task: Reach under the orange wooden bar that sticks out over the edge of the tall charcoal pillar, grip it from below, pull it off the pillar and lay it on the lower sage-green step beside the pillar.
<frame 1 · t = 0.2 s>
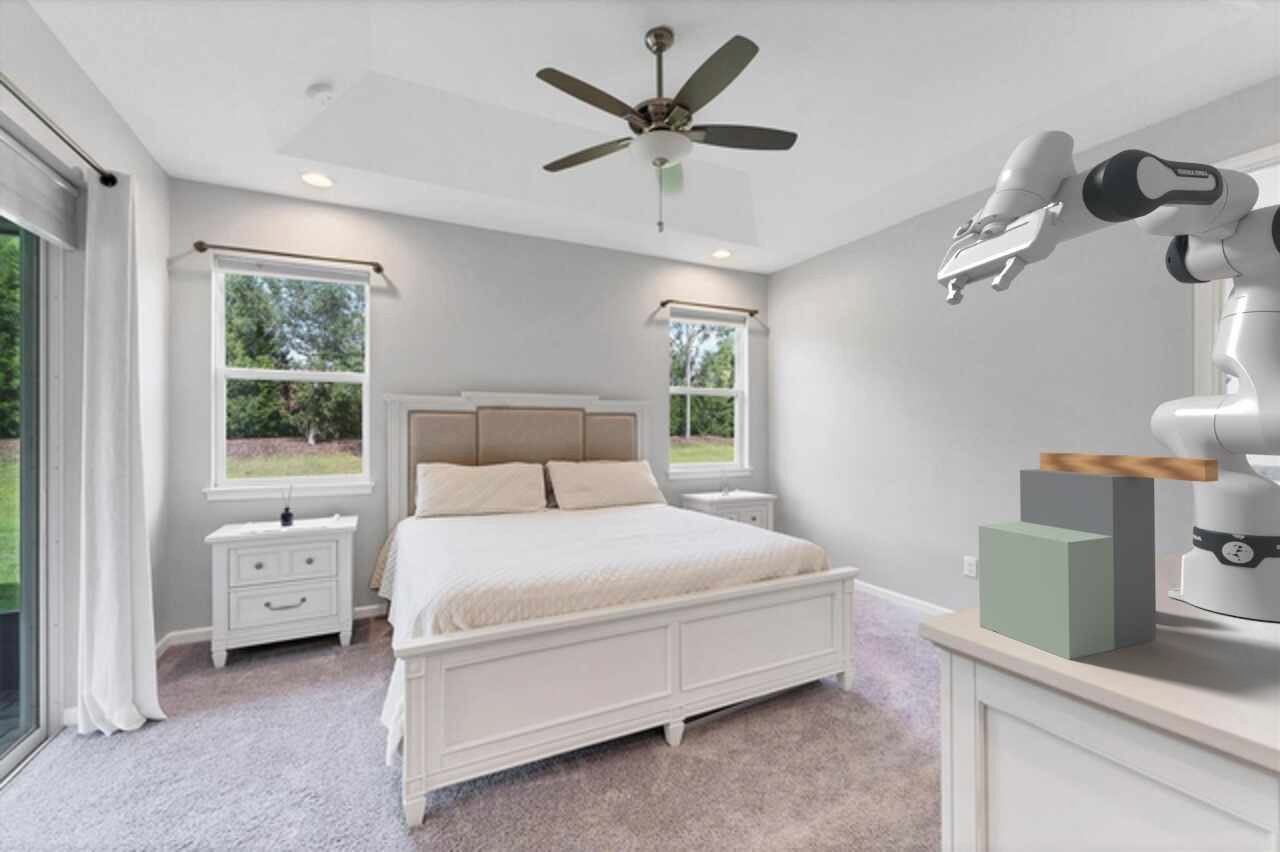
hand: (974, 296, 87), 55 cm above the table, tool tilted 30°, fingers open, 8 cm apart
stepped stand: (1064, 632, 88), on the table
orange bar: (1118, 474, 85), point 26 cm above the table, touching stepped stand
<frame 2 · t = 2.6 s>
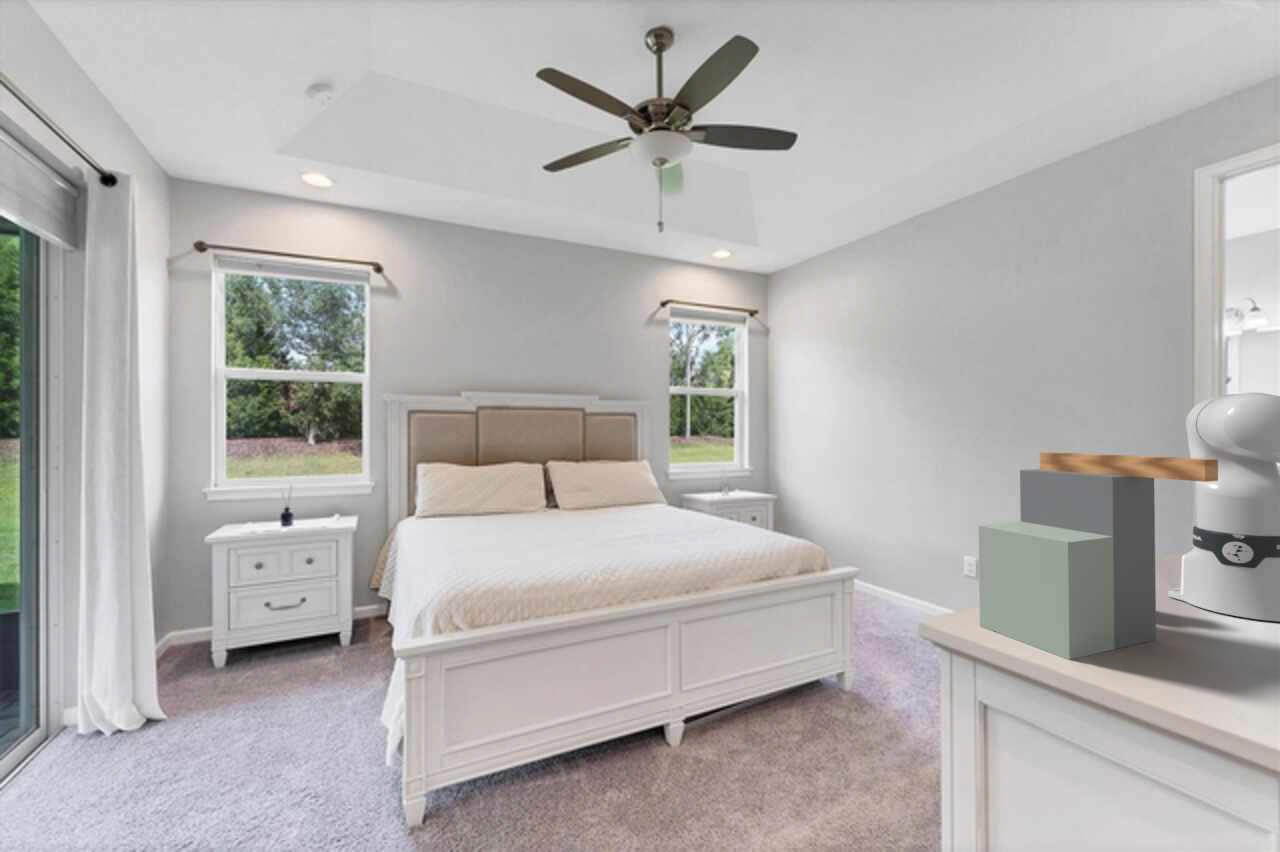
orange bar: (1118, 474, 85), point 26 cm above the table
everything else where it was.
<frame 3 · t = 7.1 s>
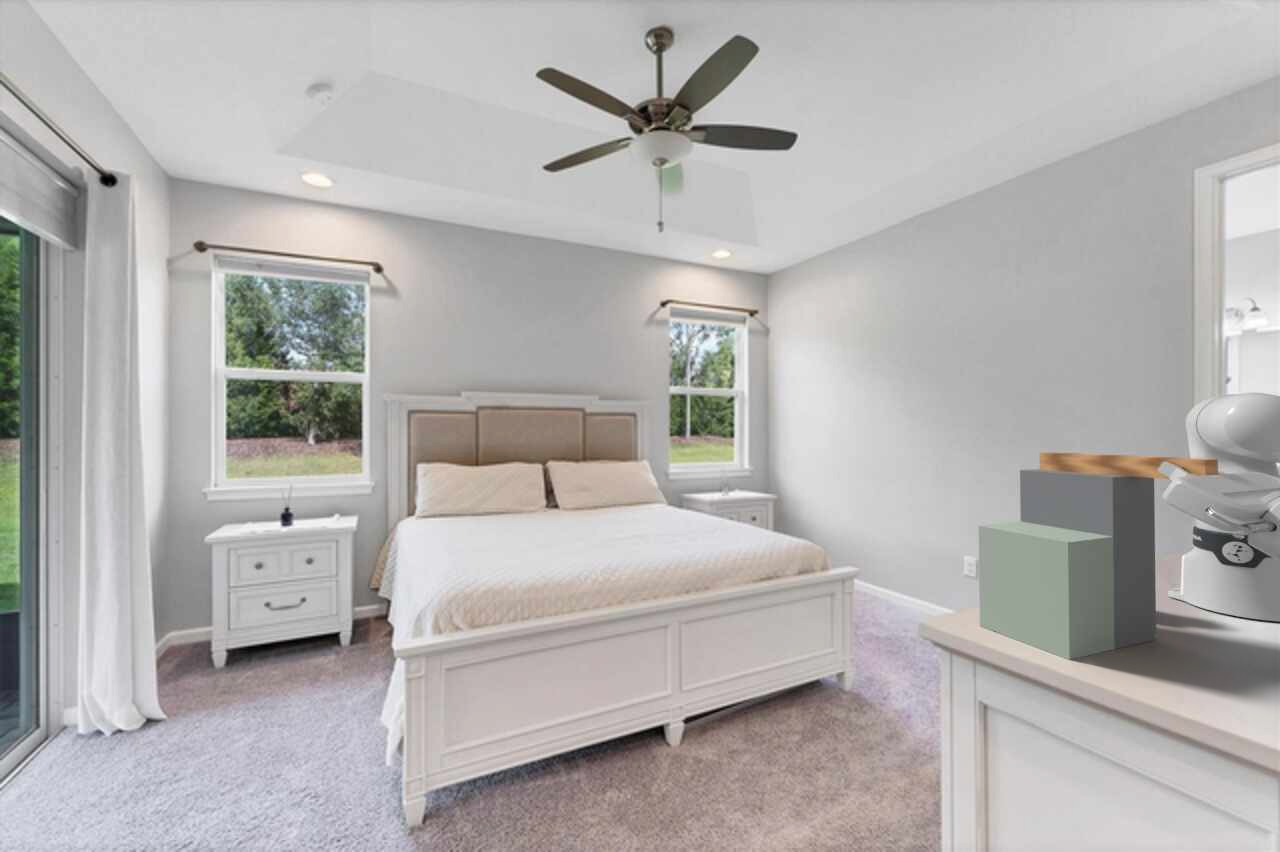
hand: (1172, 464, 78), 28 cm above the table, tool pointing upward, fingers closed on orange bar, 3 cm apart
orange bar: (1118, 474, 85), point 26 cm above the table, touching gripper, stepped stand
everything else where it was.
when the fingers open (21 cm above the table, at t = 18.6 s): orange bar drops 2 cm, resting on stepped stand.
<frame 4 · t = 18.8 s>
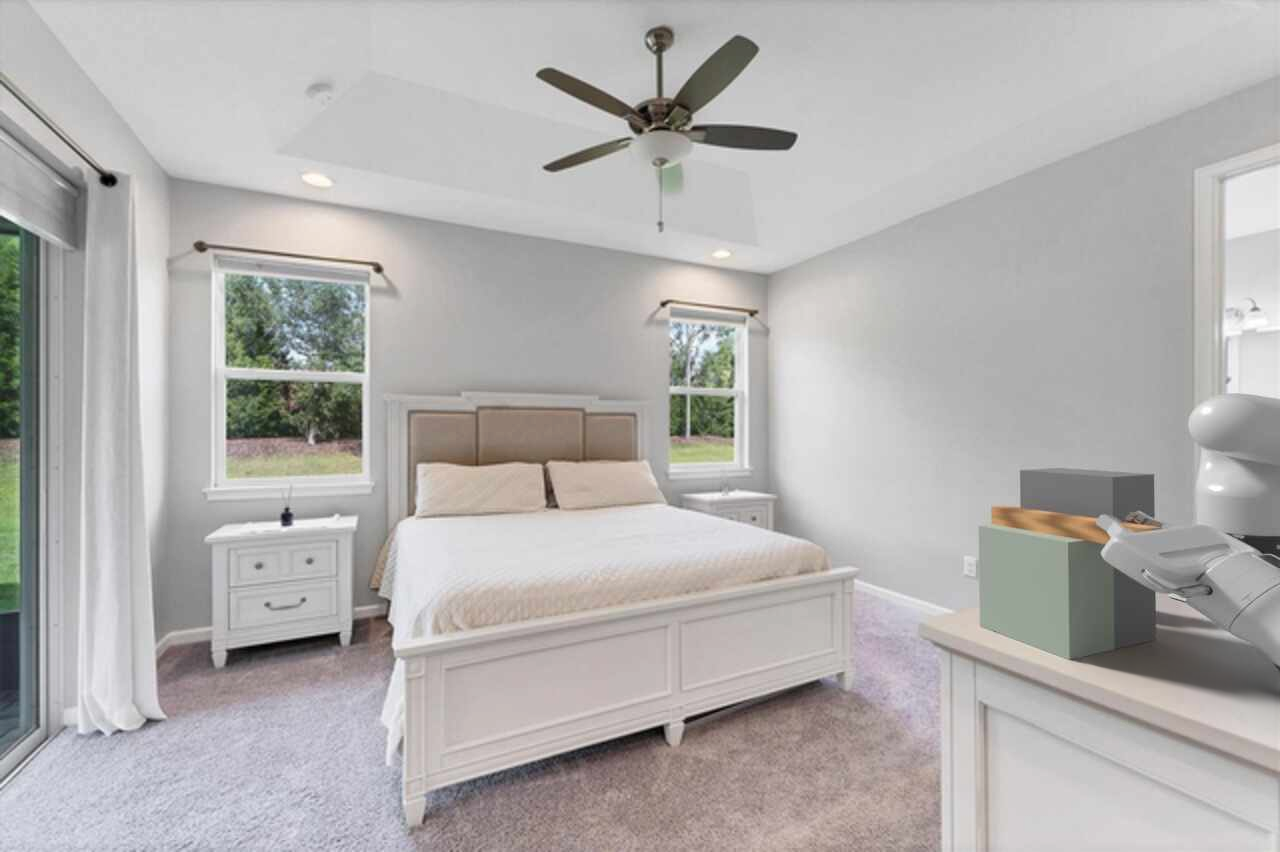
hand: (1116, 516, 77), 21 cm above the table, tool pointing upward, fingers open, 5 cm apart
orange bar: (1066, 535, 83), point 17 cm above the table, touching stepped stand
everything else where it was.
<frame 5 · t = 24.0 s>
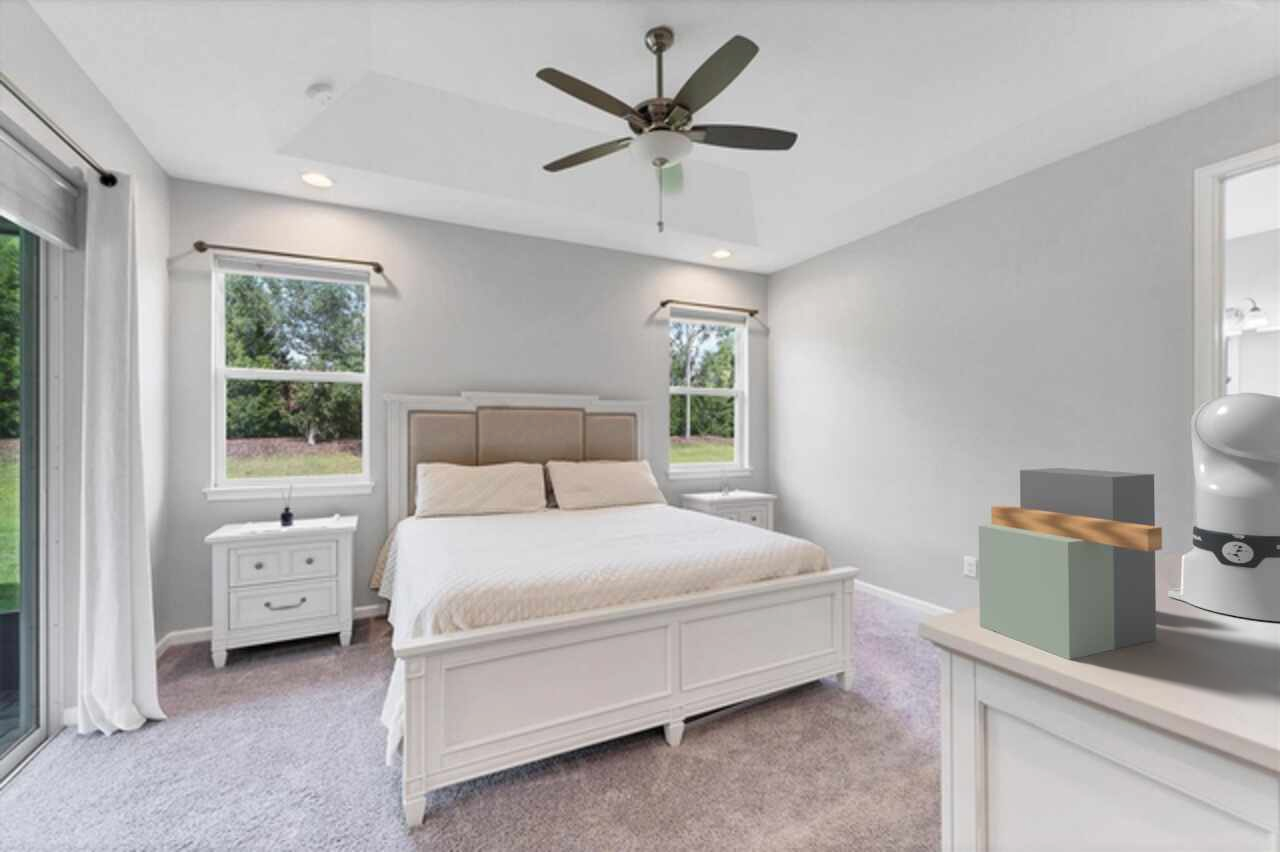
nothing on the table moved.
at the end: orange bar inside the target area on the stepped stand (0.2 cm from its centre), point 17.0 cm above the stepped stand's base; orange bar tilted 0°; the gripper is holding nothing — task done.
